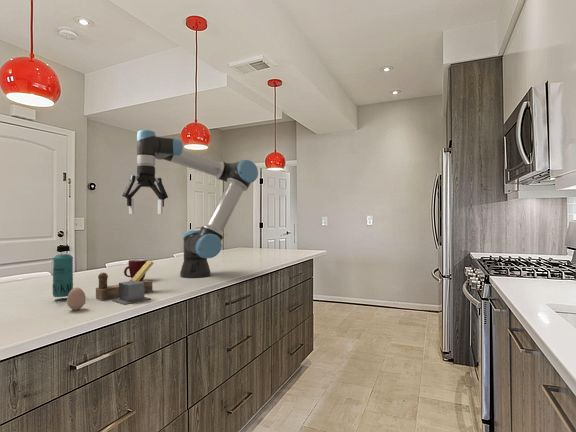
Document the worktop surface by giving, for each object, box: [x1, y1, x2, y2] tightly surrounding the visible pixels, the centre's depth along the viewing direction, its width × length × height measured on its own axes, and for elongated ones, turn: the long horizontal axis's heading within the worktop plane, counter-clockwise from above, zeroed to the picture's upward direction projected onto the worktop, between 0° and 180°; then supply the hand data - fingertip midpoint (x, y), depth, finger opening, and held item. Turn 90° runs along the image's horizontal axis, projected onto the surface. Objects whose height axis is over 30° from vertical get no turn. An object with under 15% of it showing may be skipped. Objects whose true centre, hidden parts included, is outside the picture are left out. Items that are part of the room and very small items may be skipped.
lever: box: [129, 260, 154, 281], centre depth 145 cm, size 1×4×11 cm
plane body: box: [95, 272, 153, 301], centre depth 140 cm, size 20×5×10 cm, turn 141°
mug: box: [123, 258, 148, 281], centre depth 168 cm, size 10×8×10 cm
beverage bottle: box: [52, 244, 74, 298], centre depth 133 cm, size 6×7×20 cm
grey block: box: [118, 280, 145, 302], centre depth 131 cm, size 7×6×6 cm
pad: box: [111, 296, 151, 306], centre depth 131 cm, size 10×9×1 cm
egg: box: [66, 287, 87, 311], centre depth 118 cm, size 5×5×7 cm
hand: (146, 214), depth 158 cm, fingers open, 13 cm apart
